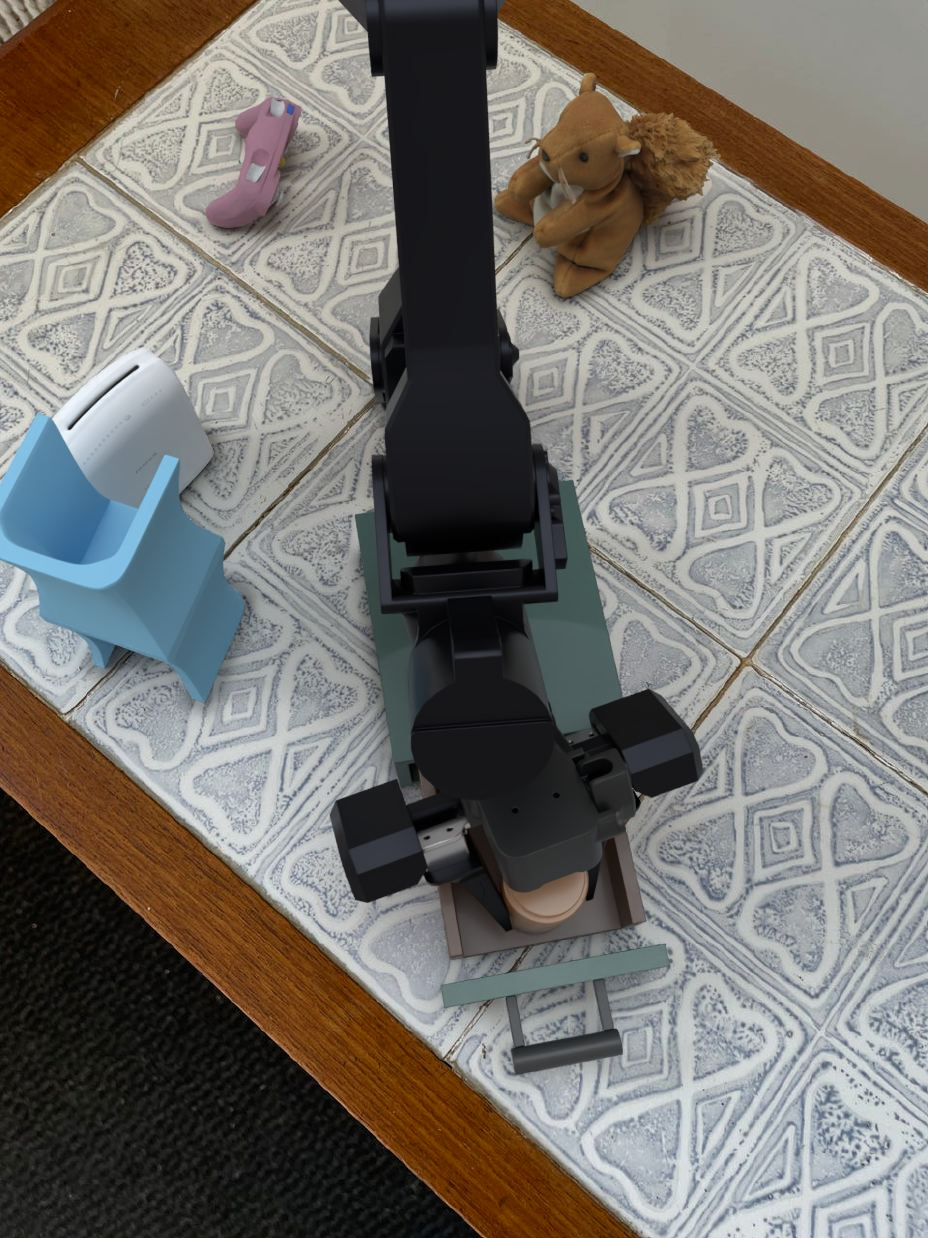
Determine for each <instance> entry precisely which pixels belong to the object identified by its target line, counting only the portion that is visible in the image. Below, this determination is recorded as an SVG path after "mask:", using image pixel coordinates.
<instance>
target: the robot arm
mask: <svg viewBox="0 0 928 1238" xmlns="http://www.w3.org/2000/svg"><path fill="white" fill-rule="evenodd" d="M337 1H338V2H339V3H340V4H341V5H342V6H343V7H344V9H346V10H347V12H348V13H349V14H350V15H351V16H352V17H353V18H354V19H355V20H356V22H357V23H358V24H359V25H360V26H361V27H362V28H363V29H364V30H365V32H367V44H368V55H369V65H370V75H371V78H379V77H384V91H385V103H386V105H385V106H386V117H387V130H388V131H387V133H388V140H389V141H388V143H389V156H390V157H389V159H390V171H391V183H392V184H391V185H392V195H393V209H394V222H395V235H396V248H397V250H396V251H397V261H398V266H397V268H396V270H395V271H394V272H393V274H392V276H391V277H390V279H388V281H387V283H386V284H385V285H384V287H383V288H382V289H381V291H380V292H379V294H378V296H377V302H378V316H372V317H371V316H370V322H369V333H368V335H369V336H368V337H369V341H368V342H369V355H370V370H371V379H372V380H371V381H372V389H373V393H374V394H373V395H374V397H375V401H376V404H380V405H381V406H380V407H382V409H383V411H384V413H385V415H384V433H383V437H384V450H385V451H384V452H385V454H372V455H371V456H370V457H371V460H370V461H371V481H372V482H371V483H372V495H373V496H372V497H373V499H372V500H373V511H374V514H375V530H376V545H377V560H378V575H379V590H380V605H381V614H382V615H386V614H400V613H401V614H402V617H403V621H404V624H405V627H406V630H407V634H408V637H409V640H410V643H411V647H412V651H411V654H410V657H409V701H410V733H411V751H412V755H413V758H414V762H415V764H416V766H417V767H418V769H419V771H420V772H421V774H422V776H423V777H424V778H425V779H426V780H427V781H429V782H430V783H431V784H432V785H433V786H434V787H436V788H437V789H439V790H441V791H443V792H441V793H438V794H435V795H432V796H429V797H427V798H424V799H423V798H422V799H418V800H416V801H413V802H410V803H408V804H407V803H406V800H405V797H404V793H403V792H402V789H401V786H400V783H399V780H398V778H395V779H391V780H389V781H386V782H383V783H380V784H377V785H375V786H372V787H369V788H367V789H364V790H361V791H358V792H356V793H353V794H350V795H346V796H344V797H341V798H339V799H338V798H337V799H335V801H334V803H333V806H332V809H331V811H330V813H329V818H330V823H331V827H332V830H333V834H334V835H333V836H334V838H335V843H336V846H337V851H338V855H339V858H340V862H341V865H342V869H343V872H344V875H345V877H346V880H347V882H348V885H349V888H350V890H351V893H352V895H353V898H354V901H357V902H362V903H364V904H365V903H366V904H370V903H372V902H375V901H377V900H381V899H382V898H385V897H388V896H391V895H394V894H396V893H399V892H401V891H405V890H407V889H410V888H412V887H415V886H418V885H419V884H420V881H421V880H422V878H423V877H424V880H425V882H426V883H427V884H428V885H429V886H432V887H438V886H441V885H443V884H446V883H455V882H456V883H458V884H460V885H461V886H462V887H464V888H465V889H466V890H468V891H469V892H470V893H471V894H472V895H473V896H474V897H475V898H476V899H477V900H478V901H479V902H480V903H481V904H482V905H483V906H484V908H485V909H486V910H487V911H488V912H489V913H490V914H491V916H492V917H493V918H494V919H495V920H496V921H497V922H498V923H499V925H500V926H501V927H502V928H503V929H504V930H505V931H506V932H508V931H511V930H512V929H513V927H512V924H511V920H510V916H509V913H508V911H507V909H506V906H505V904H504V902H503V900H502V898H501V895H500V893H499V891H498V889H497V887H496V884H495V882H494V880H493V878H492V876H491V874H490V872H489V870H488V868H487V866H486V864H485V862H484V860H483V858H482V856H481V854H480V852H479V850H478V848H477V846H476V844H475V842H474V840H473V838H472V836H471V834H470V831H469V829H468V828H470V827H471V828H473V827H475V826H478V825H481V824H483V828H484V831H485V834H486V836H487V839H488V841H489V844H490V846H491V849H492V851H493V853H494V856H495V858H496V861H497V863H498V866H499V868H500V871H501V874H502V877H503V879H504V881H505V883H506V885H507V886H508V887H509V888H511V889H512V890H514V891H516V892H521V893H526V892H531V891H534V890H536V889H539V888H541V887H542V886H543V885H544V884H546V883H549V882H552V881H554V880H557V879H560V878H562V877H565V876H568V875H570V874H573V873H576V872H584V871H587V872H588V879H589V883H588V891H587V895H586V898H585V900H586V901H590V900H592V899H593V898H594V894H595V889H596V885H597V880H598V875H599V870H600V865H601V861H602V855H603V851H604V847H605V844H606V841H607V840H608V839H610V838H613V837H616V836H618V835H621V834H624V833H626V831H627V827H626V828H625V826H626V824H625V825H624V822H625V821H628V820H630V819H633V818H635V817H636V814H637V812H638V811H639V810H640V808H641V806H642V802H641V798H640V797H639V796H638V794H641V795H643V796H646V797H648V798H650V799H653V798H655V797H658V796H662V795H664V794H667V793H669V792H672V791H674V790H677V789H680V788H683V787H685V786H689V785H691V784H693V783H697V782H699V780H700V779H701V777H702V775H703V773H704V767H703V760H702V755H701V749H700V745H699V743H698V740H697V738H696V735H695V733H694V731H693V730H692V729H691V728H690V726H689V725H688V724H687V723H686V722H685V720H684V719H682V717H681V716H680V715H679V713H678V712H677V711H676V710H675V709H674V708H673V707H672V706H671V704H670V703H669V702H668V701H667V700H666V698H665V697H664V696H663V695H661V694H659V693H658V692H657V691H654V690H653V689H650V688H646V689H643V690H641V691H637V692H634V693H632V694H629V695H626V696H623V698H621V699H618V700H615V701H612V702H609V703H607V704H604V705H601V706H598V707H595V708H593V709H591V710H590V713H589V719H590V724H591V728H588V729H585V730H582V731H579V732H577V733H574V734H571V735H568V736H566V737H564V735H563V734H562V733H561V731H560V730H559V728H558V727H557V725H556V721H555V717H554V715H553V713H552V709H551V705H550V702H549V700H548V697H547V693H546V689H545V685H544V681H543V677H542V673H541V669H540V665H539V661H538V657H537V653H536V649H535V645H534V641H533V637H532V633H531V629H530V625H529V621H528V617H527V613H526V609H525V605H524V604H535V603H549V602H558V585H557V574H556V570H559V569H566V565H567V560H568V555H567V547H566V539H565V531H564V523H563V514H562V506H561V498H560V490H559V482H560V481H559V474H558V469H557V468H556V467H555V466H553V465H552V464H551V463H550V462H549V453H548V450H546V449H544V446H543V444H542V443H532V428H531V427H532V426H531V425H532V424H531V421H530V420H531V419H530V418H529V415H528V414H527V412H526V410H525V408H524V406H523V405H522V403H521V400H520V399H519V397H518V395H517V394H516V392H515V391H514V389H513V388H512V386H511V384H512V380H513V378H514V366H515V364H517V362H518V361H519V360H520V349H519V348H518V347H517V346H516V345H515V344H514V343H513V342H512V339H511V336H510V335H511V334H510V333H509V331H508V328H507V324H506V322H505V319H504V317H503V315H502V313H501V310H500V308H498V297H497V276H496V273H497V272H496V255H495V251H496V250H495V233H494V232H495V231H494V210H493V209H494V208H493V207H494V206H493V188H492V168H491V167H492V165H491V145H490V142H491V141H490V120H489V119H490V118H489V100H488V79H487V78H488V77H487V76H488V75H487V71H492V70H493V71H494V70H495V71H496V70H497V67H498V61H499V59H498V57H499V13H500V11H501V10H502V8H503V7H504V5H505V3H506V2H507V0H337ZM533 529H534V536H535V544H536V551H537V559H538V567H539V569H533V561H532V560H531V559H514V560H505V559H504V558H503V557H502V556H501V555H499V554H498V553H497V552H496V551H494V550H508V549H521V548H522V545H523V535H524V534H528V533H531V532H532V531H533ZM390 533H392V534H393V539H394V540H395V541H396V542H398V543H403V542H405V548H406V556H407V557H411V556H416V561H415V564H414V566H413V567H405V568H402V569H400V577H401V579H392V563H391V545H390ZM637 793H638V794H637ZM623 821H624V822H623Z"/></svg>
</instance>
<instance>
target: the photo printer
mask: <svg viewBox="0 0 928 1238" xmlns="http://www.w3.org/2000/svg"><path fill="white" fill-rule="evenodd" d="M190 399H191V398H190V397H189V395H188V393H187V391H186V389H185V387H184V386H183V383H182V382H181V380H180V379H179V377H178V375H177V374H176V372H175V370H174V369H173V368H172V366H171V365H170V364H169V363H168V362H167V361H165V360H164V359H163V358H161V357H159V356H157V355H155V354H154V353H153V352H152V351H151V350H150V349H149V348H148V347H144V346H141V347H139V348H135V349H134V350H132V351H130V352H127V353H125V354H124V355H123V356H121V357H119V358H118V359H116V360H115V361H113V362H112V363H110V364H109V365H107V366H106V367H104V368H103V369H102V370H101V371H99V372H98V373H97V374H96V375H95V376H92V377H91V378H90V379H89V380H88V381H87V383H86V384H84V385H83V386H81V387H80V388H79V390H78V391H77V392H75V394H73V395H72V396H71V397H70V398H69V399H68V400H67V401H66V402H65V404H63V406H62V407H61V408H60V409H59V410H58V411H57V412H56V413H55V414H54V416H53V417H51V418H52V420H53V421H54V423H55V424H56V426H57V428H58V430H59V432H60V433H61V435H62V437H63V439H64V441H65V443H66V445H67V446H68V448H69V450H70V452H71V454H72V455H73V457H74V459H75V460H76V462H77V464H78V466H79V467H80V469H81V470H82V472H83V473H84V475H85V477H86V478H87V480H88V481H89V482H90V483H91V485H92V486H93V487H94V488H95V489H96V490H97V491H98V492H99V493H100V494H101V495H103V496H104V497H106V498H108V499H110V500H113V501H116V502H119V503H122V504H125V505H128V506H131V507H133V508H136V509H139V507H140V505H141V503H142V501H143V499H144V497H145V495H146V493H147V491H148V488H149V486H150V484H151V482H152V480H153V478H154V476H155V474H156V472H157V470H158V468H159V466H160V463H161V461H162V459H163V457H164V455H169V456H172V457H175V458H179V459H180V471H179V495H180V494H182V492H183V491H184V490H185V489H186V488H187V487H188V486H189V485H190V484H191V483H192V481H193V480H194V479H196V477H198V476H199V474H200V473H201V472H202V471H203V470H204V469H205V468H206V466H207V465H208V464H209V462H210V461H211V459H212V458H213V456H214V452H215V451H214V449H213V446H212V444H211V441H210V440H209V437H208V434H207V433H206V430H205V429H204V426H203V425H202V422H201V420H200V418H199V416H198V414H197V412H196V410H195V408H194V405H193V404H192V402H191V400H190Z"/></svg>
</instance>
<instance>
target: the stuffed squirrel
mask: <svg viewBox="0 0 928 1238" xmlns="http://www.w3.org/2000/svg"><path fill="white" fill-rule="evenodd" d="M597 83H598V81H597V76H596V73H594V72H586V73H584V74H583V76H582V78H581V81H580V87H579V90H578V95H576V97H574V98H573V99H572V100H570V101H569V102H568V104H567V105H566V106H565V107H564V109H563V110H562V111H561V113H560V115H559V118H558V121H557V123H556V125H555V126H554V127H553V128H551V129H550V130H549V131H548V132H547V133H546V134H545V135H544V136H543V138H538V137H530V138H528V139H527V140H525V141H524V145H527V144H529V143H530V142H532V141H535V143H534V145H533V146H532V147H531V148H530V150H529V152H528V153H527V154H526V155H525V158H526V159H528V160H527V161H526V162H524V164H522V165H521V166H519V167H518V168H517V169H516V170H515V171H514V172H513V173H512V175H511V176H510V179H509V182H508V185H507V188H506V189H504V190H502V191H500V192H499V193H497V195H495V197H494V206H495V209H496V211H497V212H498V213H499V214H501V215H503V216H505V217H507V218H509V219H512V220H515V221H518V222H521V223H523V224H526V225H530V226H532V227H533V226H534V227H533V230H532V231H533V232H532V235H533V238H534V240H535V243H536V244H537V246H538V247H539V248H543V249H550V250H551V251H553V252H555V253H556V254H555V255H556V256H555V260H554V268H553V286H554V293H555V294H556V295H557V296H559V297H561V298H564V299H565V298H569V297H572V296H576V295H578V294H580V293H583V291H585V290H587V289H589V288H591V287H592V286H594V285H596V284H597V283H599V282H601V281H603V280H604V279H606V278H607V277H608V276H610V275H611V274H612V273H613V272H614V270H615V269H616V268H617V267H618V264H619V263H620V261H621V259H622V258H623V256H624V254H625V253H626V252H627V250H628V248H629V247H630V245H631V243H632V241H633V240H634V238H635V237H636V235H637V233H638V231H639V229H640V226H642V227H643V228H645V227H648V226H649V225H650V224H655V223H658V221H659V218H660V216H662V215H663V214H664V213H665V212H666V210H667V208H669V206H671V205H672V203H673V201H674V200H678V201H679V202H683V201H685V202H686V201H688V199H689V198H690V197H691V196H696V195H698V194H699V195H700V196H702V197H704V193H703V188H704V187H705V184H704V182H708V181H710V180H711V179H709V178H708V179H707V174H708V173H709V170H710V169H711V167H712V166H714V164H715V163H714V162H713V161H711V160H715V161H718V162H721V159H720V158H721V157H722V154H721V153H718V154H717V152H718V149H717V148H713V147H714V142H713V141H710V140H709V139H708V136H706V135H702V134H701V133H700V132H699V131H697V130H696V129H693V128H692V126H691V124H692V123H690V122H688V121H687V120H685V119H684V120H683V119H681V118H679V117H678V116H676V117H674V112H671V113H670V114H668V113H666V112H659V113H656V112H650V113H649V112H648V113H646V114H645V115H643V116H642V115H639V112H637V113H636V114H634V115H632V116H631V120H628V119H627V120H624V119H623V118H622V116H621V114H620V113H619V112H618V111H617V109H616V107H615V106H614V104H612V101H611V100H610V99H609V98H608V97H607V96H606V95H605V94H603V93H601V92H600V91H597V90H596V88H597ZM538 148H539V149H538ZM537 149H538V153H537V155H535V156H533V157H532V158H531V155H532V154H533V152H534V151H536V150H537Z"/></svg>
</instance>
